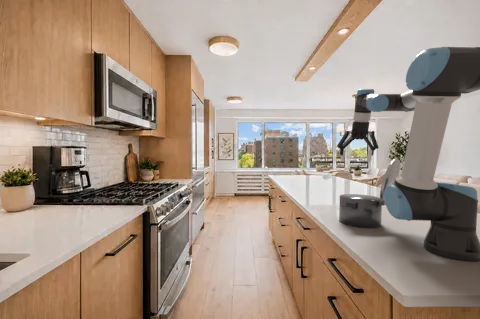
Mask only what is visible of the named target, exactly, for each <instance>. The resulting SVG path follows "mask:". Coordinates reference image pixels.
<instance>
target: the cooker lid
mask: <svg viewBox="0 0 480 319" xmlns="http://www.w3.org/2000/svg"><path fill="white" fill-rule="evenodd" d="M400 171H401V160H400V159H397V158H394V159H392V160H391V161H390V163H389V165H388V167H387V168H386V170H385V172H384V175H383V179H382V182H381V186H380V192H379V198H380V199H381V200H383V201H385V200H384V192H385V189H386V187H387V186H389V185H394V182H395V178H396V177H397V176H399V175H400Z"/></svg>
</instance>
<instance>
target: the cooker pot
mask: <svg viewBox="0 0 480 319" xmlns="http://www.w3.org/2000/svg"><path fill="white" fill-rule="evenodd" d="M383 206H386V204H385V201H383V200H381V199H380V196H379V197H378V196H374V195H368V194H359V193H358V194H356V193H350V194H349V193H347V194H345V193H344V194H340V195H339V206H338V207H339V211H338V219H339V220H338V221H339V222H340V223H341V224H343V225H347V226H350V227H354V228H361V229H377V228H380V227H382V214H383V213H382V212H383V210H382V208H383Z"/></svg>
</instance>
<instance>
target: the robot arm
mask: <svg viewBox="0 0 480 319" xmlns="http://www.w3.org/2000/svg"><path fill="white" fill-rule="evenodd" d="M405 83H406V88H408V89H409V90H408V91H405V92H403V93H375V89H373V88H359V89H358V90H357V91H356V95H355V105H354V112H353V120H352V127H351V130H348V129H345V131H344V134H343V135H342V137H341V139H340V140H339V141H338V143H337V145H336V147H337V148H338V149H339V155H340V161H341V162H342V163H345V156H346V148H347V147H348V146H349V145H350V144H351V143H352V142H353V141H355V140H364V142H365V143H366V145H367V146H368V147H369V148H368V150H367V156H366V162H367V163H371V161H372V156H373V155H374V154H375V151H376V150H377V149H379V145H378V142H377V140H376V136H375V131H374V130H372V129H370V130H369V128H370V120H371V116H372V115H371V114H372V112H373V113H381V112H406V113H407V112H413V117H412V121H411V126H410V131H409V135H408V141H407V145H406V150H405V154H404V155H405V156H404V161H403V165H402V169H401V174H399V175H398V176H397V177H396V178H395V182H394V185H389V186H387V187H386V189H385V192H384V200H385V204H386V205H385V206H386V209H387V211H388V213H389V214H390V215H391V216H392V217H393V218H395V219H396V220H403V221H408V222H410V221H426V222H427V221H429V222H430V225H429V228H428V231H427V232H426V234H425V237H424V239H423V248H424V249H426V250H427V251H429V252H431V253H433V254H435V255H438V256H442V257H445V258H450V259H453V260H459V261H465V262H466V261H468V262H479V261H480V240H479V236H478V234H477V220H478V205H479V199H478V190H477V189H476V188H474V187H473V186H467V185H462V184H461V185H460V184H453V183H449V182H441V181H440V182H439V181H435V180H434V178H435V174H436V171H437V165H438V162H439V157H440V155H441V154H440V153H441V149H442V145H443V141H444V137H445V133H446V130H447V126H448V121H449V116H450V114H451V109H452V104H453V103H454V102H457V100H459V99H460V98H461V96H462V95H466V94H470V93H473V92H476V91H479V90H480V46H476V47H471V46H469V47H467V46H466V47H465V46H461V47H460V46H440V47H431V48H430V47H429V48H426V49H424V50H422V51H421V52H420V53H418V54H417V55H416V56H415V57H414V59H413V60H412V61H411V63H410V65H409V67H408V69H407V71H406V75H405ZM349 135H350V136H349ZM368 136H370V139H369V138H368ZM370 140H371V141H370ZM371 142H372V143H371Z"/></svg>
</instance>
